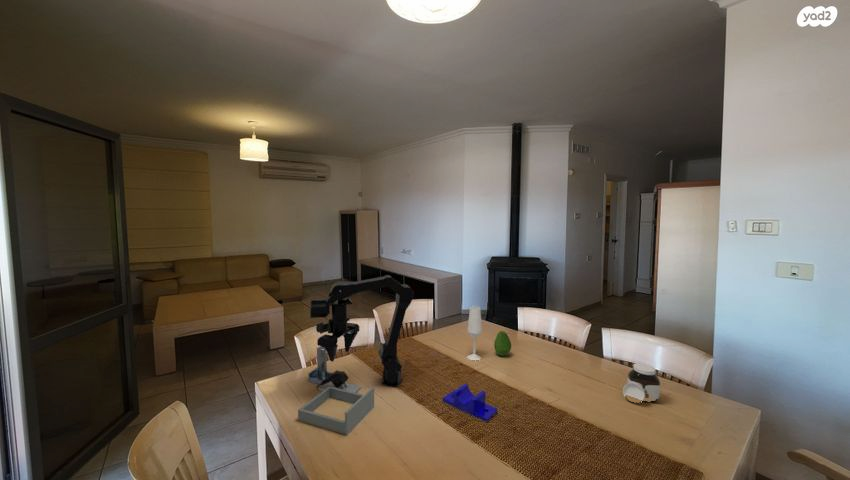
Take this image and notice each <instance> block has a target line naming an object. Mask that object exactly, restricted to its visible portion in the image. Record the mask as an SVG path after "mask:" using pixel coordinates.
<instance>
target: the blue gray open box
mask: <svg viewBox="0 0 850 480" xmlns="http://www.w3.org/2000/svg"><path fill="white" fill-rule="evenodd" d="M332 373H333V372H330V371H327V377H328V376H329V375H330V374H332ZM307 376H308V377H307V378H308V380H307V381H309V383H313V384H317V385H319V384H321V382H322V381H323V380H322V379H318V367H316V368H314V369H313V370H311V371H310V372H308V375H307ZM324 380H325V379H324ZM324 385H325V384H324Z"/></svg>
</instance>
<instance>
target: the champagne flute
mask: <svg viewBox="0 0 850 480" xmlns="http://www.w3.org/2000/svg"><path fill="white" fill-rule="evenodd" d="M482 328H483V327H482V311H481V307H480V306H477V305H476V306H475V305H474V306H470V307H469V315H468V322H467V333H468V335H469V336H470V337H471V338H473V340H472V354H469V355H467V356H466V359H467V358H468V359H467V360H469V359H470V360H469V361H471V360H475V361H474V362H477V361H476V360H479V361H481V360H482V357H481V356H479V355H478V354H477V353H476V344H477V343H476V339H477V338H478V337H480V335H481V334H482V333H483V329H482ZM480 359H481V360H480Z"/></svg>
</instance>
